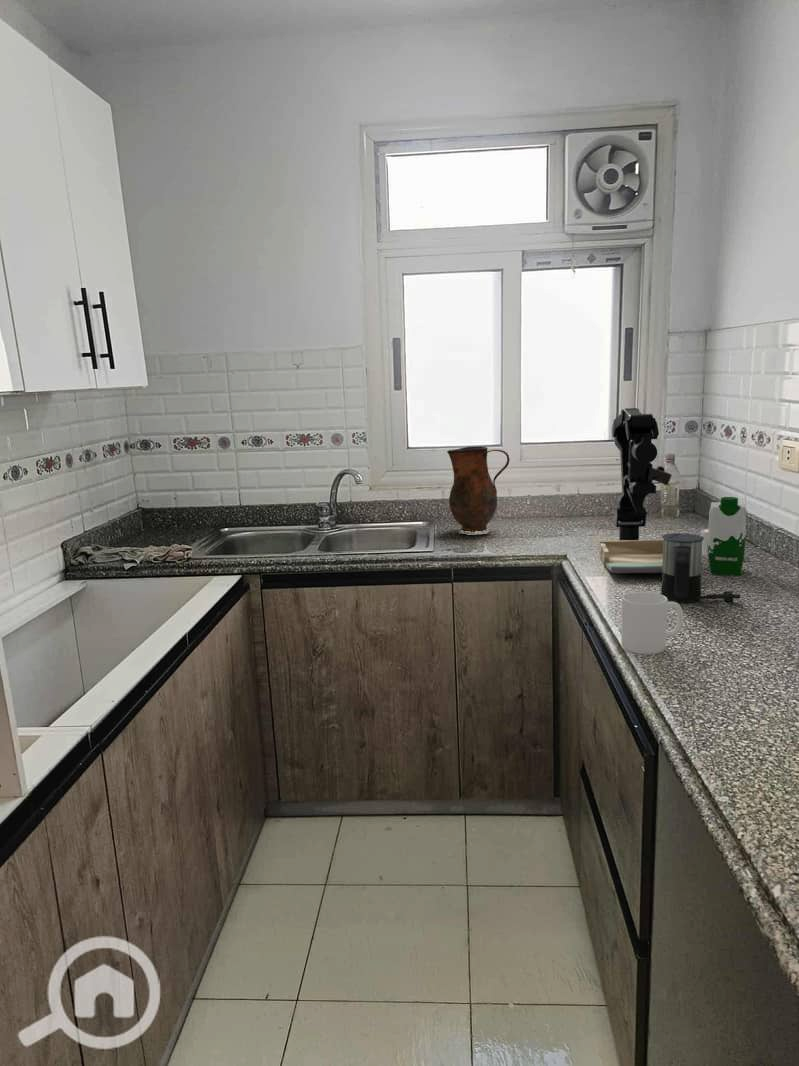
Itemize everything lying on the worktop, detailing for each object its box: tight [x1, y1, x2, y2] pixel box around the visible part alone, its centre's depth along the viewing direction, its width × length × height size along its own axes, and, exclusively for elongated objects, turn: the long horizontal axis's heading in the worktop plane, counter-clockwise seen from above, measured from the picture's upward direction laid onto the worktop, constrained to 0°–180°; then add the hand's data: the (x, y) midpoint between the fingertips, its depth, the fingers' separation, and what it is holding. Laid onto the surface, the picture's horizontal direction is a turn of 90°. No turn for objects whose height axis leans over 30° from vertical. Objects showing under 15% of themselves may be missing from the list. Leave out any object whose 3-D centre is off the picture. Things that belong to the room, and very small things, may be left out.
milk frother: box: [660, 532, 741, 604], centre depth 164 cm, size 14×16×15 cm
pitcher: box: [446, 445, 511, 532], centre depth 246 cm, size 17×21×30 cm
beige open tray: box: [599, 539, 663, 568], centre depth 200 cm, size 12×21×5 cm, turn 81°
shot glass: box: [700, 528, 708, 557], centre depth 204 cm, size 7×7×7 cm
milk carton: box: [707, 496, 747, 576], centre depth 185 cm, size 9×9×20 cm
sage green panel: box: [605, 562, 663, 574], centre depth 188 cm, size 2×20×13 cm
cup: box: [620, 591, 684, 656], centre depth 138 cm, size 8×12×10 cm
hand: (638, 513), depth 202 cm, fingers closed
